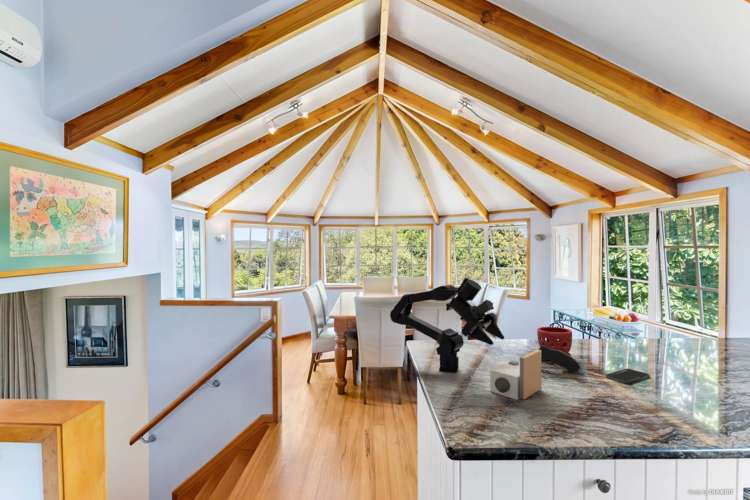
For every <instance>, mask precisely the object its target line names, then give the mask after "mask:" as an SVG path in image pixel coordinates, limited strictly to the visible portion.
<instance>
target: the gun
mask: <svg viewBox="0 0 750 500" xmlns="http://www.w3.org/2000/svg"><path fill="white" fill-rule="evenodd" d="M538 350H541V365H542V364H543V363H545V364H547V365H550V366H552V365H554V364H556V365H558V366H560V367H561V368H563V369H565V370H567V371H569V372H570V373H572V374H578V373H579V371H580V372H583V371H584V369H583V368H582V367H581V365H580V363H578V362H577V360H576V359H575V358H573V356H572V355H571V356H570V355H568V354H566V353H564V352H562V351H560V350H556V349H551V348H548V347H546V346H539V348H538ZM547 360H548V361H550V362H548V361H547Z"/></svg>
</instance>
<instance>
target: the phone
mask: <svg viewBox="0 0 750 500" xmlns="http://www.w3.org/2000/svg"><path fill="white" fill-rule="evenodd" d="M650 377H651V376H650V373H646V372H642V371H639V370H635V369H632V368H631V369H630V368H624V369H621V370H617V371H614V372H611V373H608V374H605V378H606V379H608V380H611V381H614V382H618V383H621V384H625V385H632V384H635V383H638V382H640V381H643V380H646V379H649V378H650Z"/></svg>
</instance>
